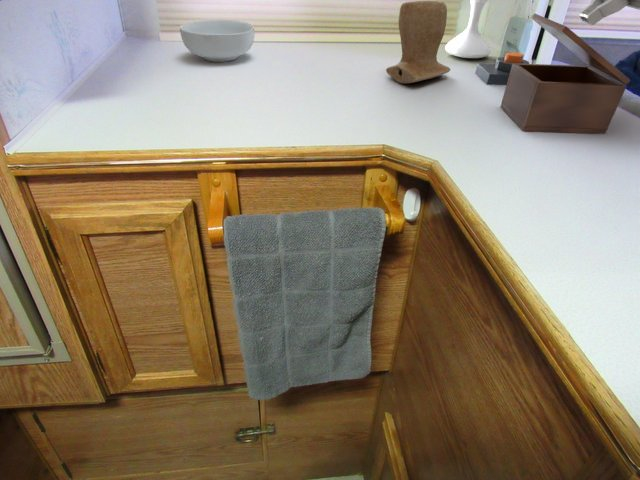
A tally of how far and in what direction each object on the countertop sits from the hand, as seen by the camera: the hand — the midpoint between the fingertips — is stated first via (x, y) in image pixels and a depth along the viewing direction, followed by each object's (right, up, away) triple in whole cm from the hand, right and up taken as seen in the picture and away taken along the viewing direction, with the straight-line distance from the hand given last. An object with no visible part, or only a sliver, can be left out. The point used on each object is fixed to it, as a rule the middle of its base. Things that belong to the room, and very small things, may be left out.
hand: (584, 20), depth 65 cm
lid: (0, -4, +2) cm, 4 cm away
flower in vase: (-3, +14, +46) cm, 49 cm away
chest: (0, -13, +9) cm, 16 cm away
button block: (+1, +2, +29) cm, 29 cm away
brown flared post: (-20, +2, +29) cm, 35 cm away
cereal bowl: (-65, +10, +37) cm, 75 cm away
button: (+1, +5, +27) cm, 27 cm away
